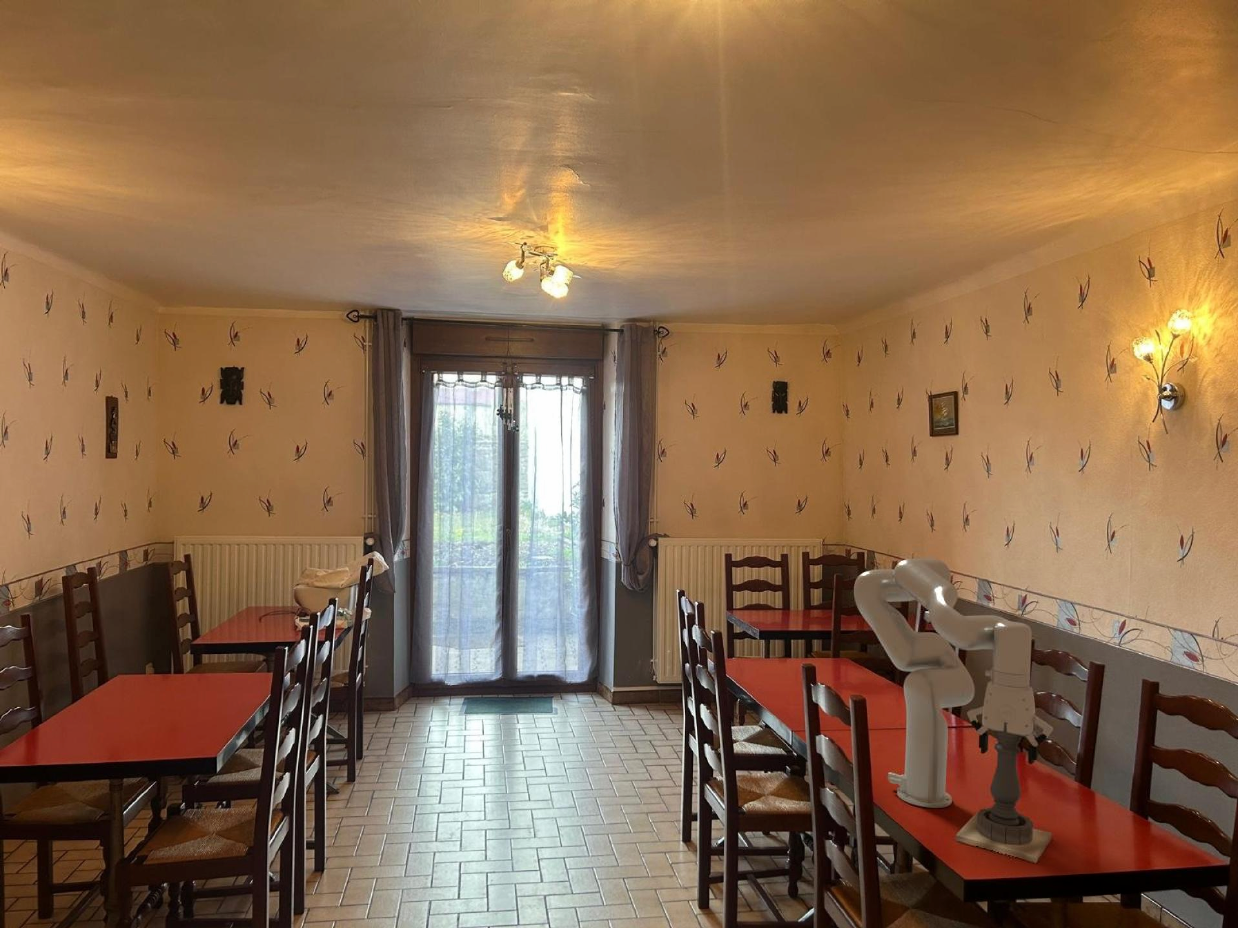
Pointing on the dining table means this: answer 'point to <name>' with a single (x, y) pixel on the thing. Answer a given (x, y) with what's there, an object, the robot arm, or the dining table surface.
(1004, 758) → the dark grey pepper mill
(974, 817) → the collar base
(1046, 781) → the dining table surface
